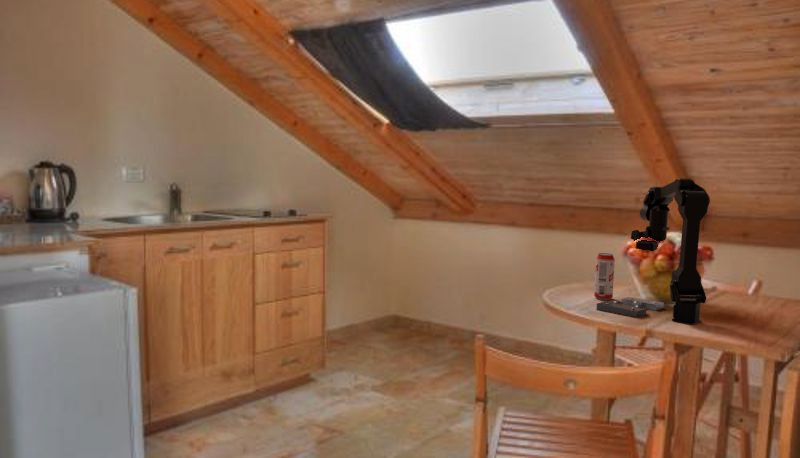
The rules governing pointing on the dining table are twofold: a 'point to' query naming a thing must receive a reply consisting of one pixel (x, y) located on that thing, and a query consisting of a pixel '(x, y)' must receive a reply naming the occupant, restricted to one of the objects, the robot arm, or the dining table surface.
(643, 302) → the free leaf
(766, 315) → the dining table surface
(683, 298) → the robot arm
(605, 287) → the beer can
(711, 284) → the dining table surface
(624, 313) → the fixed leaf
